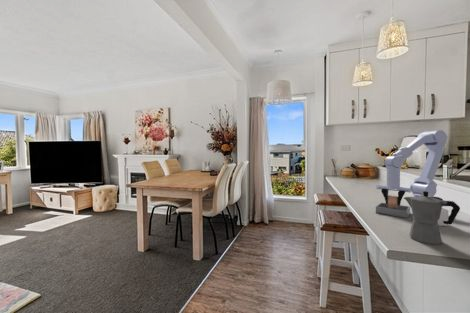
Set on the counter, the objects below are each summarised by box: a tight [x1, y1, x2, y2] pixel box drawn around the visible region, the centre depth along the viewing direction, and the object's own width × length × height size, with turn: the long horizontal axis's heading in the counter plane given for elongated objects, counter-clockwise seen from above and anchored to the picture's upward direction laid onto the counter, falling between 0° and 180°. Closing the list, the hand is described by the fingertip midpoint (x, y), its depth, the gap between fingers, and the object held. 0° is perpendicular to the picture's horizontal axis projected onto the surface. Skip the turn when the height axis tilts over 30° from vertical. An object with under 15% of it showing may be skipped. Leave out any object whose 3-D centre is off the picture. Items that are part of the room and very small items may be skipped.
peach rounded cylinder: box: [388, 195, 398, 209], centre depth 113 cm, size 5×5×6 cm
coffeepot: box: [403, 191, 461, 246], centre depth 78 cm, size 15×9×18 cm, turn 35°
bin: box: [375, 202, 411, 219], centre depth 113 cm, size 13×12×4 cm
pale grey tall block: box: [428, 196, 449, 227], centre depth 97 cm, size 7×7×12 cm
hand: (392, 204), depth 113 cm, fingers closed on peach rounded cylinder, 5 cm apart
